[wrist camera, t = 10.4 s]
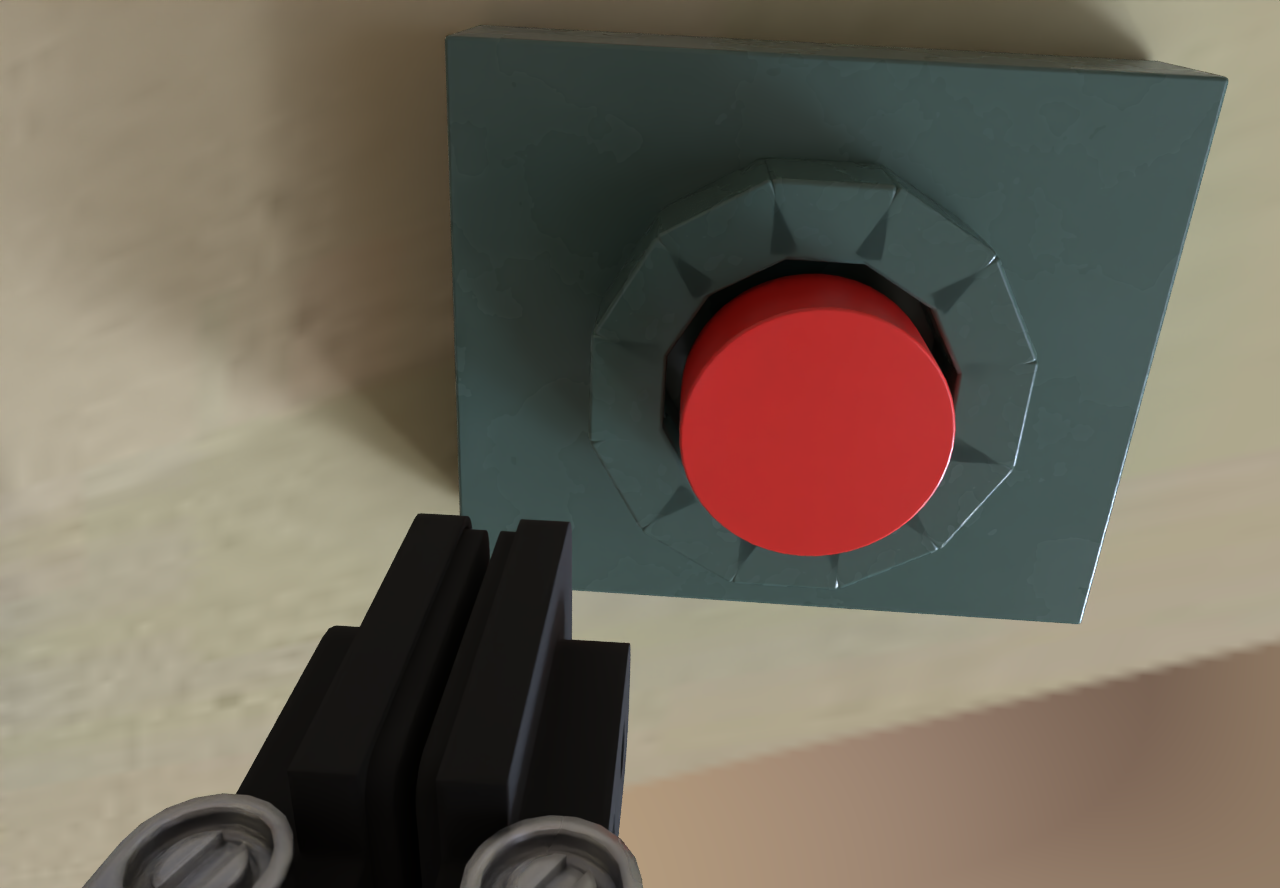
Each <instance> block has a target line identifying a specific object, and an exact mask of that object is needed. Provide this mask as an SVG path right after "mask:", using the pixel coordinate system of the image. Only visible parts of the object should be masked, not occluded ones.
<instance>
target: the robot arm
mask: <svg viewBox="0 0 1280 888" xmlns="http://www.w3.org/2000/svg"><path fill="white" fill-rule="evenodd" d="M629 687H630V643H617V642H601V641H584V640H572V528H571V523H570V522H566V521H548V520H530V519H521V520H520V522H519V524H518V527H517V530H516V532H513V531H500V534H499V536H498V539H497V542H496V544H495V547H494V550H493V553H492V556H491V559H490V548H489V536H488V532H487V530H477V529H472V523H471V519H470V518H469V516H458V515H440V514H422V513H421V514H418V515H417V516H416V517H415V519H414V521H413V523H412V525H411V527H410V529H409V531H408V533H407V535H406V537H405V539H404V541H403V543H402V545H401V547H400V549H399V550H398V552H397V554H396V556H395V558H394V560H393V562H392V564H391V566H390V568H389V570H388V572H387V574H386V576H385V578H384V580H383V582H382V584H381V586H380V588H379V590H378V592H377V594H376V596H375V598H374V600H373V602H372V604H371V606H370V608H369V610H368V612H367V614H366V616H365V618H364V620H363V622H362V624H361V626H360V627H351V626H333V627H331V628H329V629H328V631H327V632H326V633H325V635H324V636H323V637H322V639H321V641H320V643H319V645H318V647H317V648H316V650H315V652H314V654H313V656H312V657H311V659H310V661H309V663H308V665H307V666H306V668H305V670H304V672H303V674H302V675H301V677H300V679H299V681H298V683H297V685H296V686H295V688H294V690H293V692H292V694H291V695H290V697H289V699H288V701H287V703H286V704H285V706H284V708H283V710H282V712H281V714H280V715H279V717H278V719H277V721H276V723H275V724H274V726H273V728H272V730H271V732H270V733H269V735H268V737H267V739H266V741H265V742H264V744H263V746H262V748H261V750H260V752H259V753H258V755H257V757H256V759H255V761H254V762H253V764H252V766H251V768H250V770H249V771H248V773H247V775H246V777H245V779H244V780H243V782H242V784H241V786H240V788H239V790H238V791H237V793H236V794H223V793H222V794H216V795H210V796H204V797H197V798H193V799H190V800H188V801H185V802H182V803H179V804H177V805H174V806H171V807H169V808H166V809H164V810H163V811H161V812H159V813H158V814H156V815H154V816H153V817H151V818H149V819H148V820H146V821H144V822H143V823H141V824H140V825H139V826H138V827H137V828H136V829H135V830H134V831H132V832H131V833H130V834H129V835H128V836H127V837H126V838H125V839H124V840H123V841H122V842H121V843H120V844H119V845H118V846H117V847H116V848H115V849H114V851H113V852H112V853H111V854H110V855H109V857H108V858H107V859H106V860H105V861H104V862H103V864H102V865H101V866H100V867H99V868H98V869H97V871H96V872H95V873H94V874H93V875H92V877H91V878H90V879H89V880H88V881H87V882H86V884H85V885H84V886H83V887H82V888H643V885H642V878H641V875H640V871H639V868H638V865H637V862H636V859H635V857H634V855H633V854H632V853H631V851H630V850H629V849H628V847H627V846H626V845H625V844H624V842H623V841H622V840H621V839H620V838H619V837H618V835H619V825H620V815H621V804H622V795H623V784H624V774H625V761H626V748H627V732H628V714H629Z"/></svg>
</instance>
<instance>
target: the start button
mask: <svg viewBox="0 0 1280 888" xmlns="http://www.w3.org/2000/svg"><path fill="white" fill-rule="evenodd" d="M955 431H956V427H955V410H954V404H953V399H952V395H951V392H950V389H949V386H948V383H947V381H946V379H945V377H944V375H943V373H942V371H941V369H940V367H939V366H938V364H937V362H936V360H935V359H934V357H933V355H932V354H931V352H930V350H929V348H928V347H927V345H926V343H925V342H924V340H923V338H922V336H921V335H920V333H919V331H918V330H917V328H916V327H915V325H914V324H913V323H912V321H911V320H910V318H909V317H908V316H907V315H906V314H905V313H904V312H903V311H902V309H901V308H900V307H899V306H898V305H897V304H895V303H894V302H893V301H892V300H890V299H889V298H888V297H886V296H885V295H884V294H882V293H880V292H879V291H877V290H875V289H873V288H872V287H870V286H867V285H865V284H863V283H860V282H858V281H855V280H852V279H848V278H844V277H840V276H835V275H827V274H798V275H790V276H784V277H780V278H777V279H773V280H769V281H766V282H764V283H761V284H759V285H756V286H754V287H752V288H750V289H748V290H746V291H745V292H743V293H741V294H739V295H738V296H736V297H735V298H734V299H732V300H731V301H729V302H728V303H727V304H725V305H724V306H723V307H722V308H721V309H720V310H719V311H718V312H717V313H716V314H715V315H714V316H712V318H711V319H710V320H709V321H708V323H707V324H706V325H705V326H704V328H703V329H702V330H701V332H700V333H699V335H698V337H697V338H696V340H695V342H694V343H693V346H692V348H691V350H690V352H689V355H688V357H687V360H686V364H685V367H684V371H683V376H682V384H681V399H680V424H679V446H680V453H681V460H682V464H683V467H684V471H685V474H686V477H687V479H688V481H689V483H690V486H691V488H692V490H693V492H694V493H695V495H696V496H697V498H698V499H699V501H700V503H701V504H702V505H703V506H704V508H705V509H706V510H707V511H708V512H709V513H710V515H711V516H712V517H713V518H714V519H716V520H717V521H718V522H719V523H720V524H721V525H722V526H723V527H725V528H726V529H728V530H729V531H731V532H732V533H733V534H735V535H736V536H738V537H740V538H742V539H744V540H746V541H748V542H749V543H751V544H754V545H756V546H759V547H762V548H764V549H767V550H771V551H775V552H779V553H783V554H790V555H798V556H823V555H833V554H839V553H843V552H848V551H852V550H855V549H858V548H861V547H864V546H867V545H870V544H872V543H874V542H876V541H878V540H880V539H882V538H884V537H886V536H888V535H889V534H891V533H893V532H894V531H896V530H897V529H899V528H900V527H901V526H903V525H904V524H905V523H907V522H908V521H909V520H910V519H912V518H913V517H914V516H915V515H916V514H917V513H918V512H919V511H920V510H921V509H922V508H923V507H924V505H925V504H926V503H927V502H928V500H929V499H930V498H931V496H932V495H933V494H934V492H935V491H936V489H937V487H938V486H939V484H940V482H941V480H942V479H943V477H944V474H945V472H946V469H947V467H948V465H949V462H950V458H951V455H952V451H953V447H954V439H955Z"/></svg>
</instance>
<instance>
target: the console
mask: <svg viewBox="0 0 1280 888" xmlns="http://www.w3.org/2000/svg"><path fill="white" fill-rule="evenodd" d="M445 61H446V93H447V124H448V156H449V188H450V220H451V252H452V283H453V315H454V347H455V379H456V411H457V442H458V474H459V506H460V516H469V518H470V519H471V523H472V529H477V530H487V532H488V536H489V548H490V559H491V556H492V553H493V550H494V547H495V544H496V542H497V539H498V536H499V534H500V531H513V532H516V530H517V527H518V524H519V522H520V520H521V519H530V520H548V521H566V522H570V523H571V528H572V590H578V591H593V592H608V593H623V594H638V595H653V596H668V597H683V598H698V599H713V600H727V601H742V602H757V603H772V604H787V605H802V606H817V607H832V608H847V609H862V610H876V611H891V612H906V613H921V614H936V615H951V616H966V617H981V618H996V619H1011V620H1026V621H1040V622H1055V623H1070V624H1080V623H1081V621H1082V618H1083V614H1084V610H1085V607H1086V603H1087V599H1088V596H1089V592H1090V588H1091V585H1092V581H1093V577H1094V574H1095V570H1096V566H1097V563H1098V559H1099V555H1100V551H1101V548H1102V544H1103V540H1104V537H1105V533H1106V529H1107V526H1108V522H1109V518H1110V515H1111V511H1112V507H1113V504H1114V500H1115V496H1116V493H1117V489H1118V485H1119V482H1120V478H1121V474H1122V471H1123V467H1124V463H1125V460H1126V456H1127V452H1128V449H1129V445H1130V441H1131V438H1132V434H1133V430H1134V427H1135V423H1136V419H1137V416H1138V412H1139V408H1140V405H1141V401H1142V397H1143V394H1144V390H1145V386H1146V383H1147V379H1148V375H1149V372H1150V368H1151V364H1152V361H1153V357H1154V353H1155V349H1156V346H1157V342H1158V338H1159V335H1160V331H1161V327H1162V324H1163V320H1164V316H1165V313H1166V309H1167V305H1168V302H1169V298H1170V294H1171V291H1172V287H1173V283H1174V280H1175V276H1176V272H1177V269H1178V265H1179V261H1180V258H1181V254H1182V250H1183V247H1184V243H1185V239H1186V236H1187V232H1188V228H1189V225H1190V221H1191V217H1192V214H1193V210H1194V206H1195V203H1196V199H1197V195H1198V192H1199V188H1200V184H1201V181H1202V177H1203V173H1204V170H1205V166H1206V162H1207V158H1208V155H1209V151H1210V147H1211V144H1212V140H1213V136H1214V133H1215V129H1216V125H1217V122H1218V118H1219V114H1220V111H1221V107H1222V103H1223V100H1224V96H1225V92H1226V89H1227V85H1228V78H1226V77H1225V76H1221V75H1216V74H1212V73H1208V72H1203V71H1199V70H1195V69H1190V68H1186V67H1182V66H1177V65H1173V64H1169V63H1164V62H1160V61H1149V60H1130V59H1111V58H1092V57H1073V56H1055V55H1036V54H1017V53H998V52H979V51H960V50H941V49H923V48H904V47H885V46H866V45H847V44H828V43H809V42H791V41H772V40H753V39H734V38H715V37H696V36H677V35H659V34H640V33H621V32H602V31H583V30H564V29H545V28H527V27H508V26H489V25H479V26H476V27H473V28H470V29H467V30H464V31H461V32H458V33H455V34H452V35H449V36H446V39H445ZM798 274H827V275H835V276H840V277H844V278H848V279H852V280H855V281H858V282H860V283H863V284H865V285H867V286H870V287H872V288H873V289H875V290H877V291H879V292H880V293H882V294H884V295H885V296H886V297H888V298H889V299H890V300H892V301H893V302H894V303H895V304H897V305H898V306H899V307H900V308H901V309H902V311H903V312H904V313H905V314H906V315H907V316H908V317H909V318H910V320H911V321H912V323H913V324H914V325H915V327H916V328H917V330H918V331H919V333H920V335H921V336H922V338H923V340H924V342H925V343H926V345H927V347H928V348H929V350H930V352H931V354H932V355H933V357H934V359H935V360H936V362H937V364H938V366H939V367H940V369H941V371H942V373H943V375H944V377H945V379H946V381H947V383H948V386H949V389H950V392H951V395H952V399H953V404H954V410H955V427H956V431H955V439H954V447H953V451H952V455H951V458H950V462H949V465H948V467H947V469H946V472H945V474H944V477H943V479H942V480H941V482H940V484H939V486H938V487H937V489H936V491H935V492H934V494H933V495H932V496H931V498H930V499H929V500H928V502H927V503H926V504H925V505H924V507H923V508H922V509H921V510H920V511H919V512H918V513H917V514H916V515H915V516H914V517H913V518H912V519H910V520H909V521H908V522H907V523H905V524H904V525H903V526H901V527H900V528H899V529H897V530H896V531H894V532H893V533H891V534H889V535H888V536H886V537H884V538H882V539H880V540H878V541H876V542H874V543H872V544H870V545H867V546H864V547H861V548H858V549H855V550H852V551H848V552H843V553H839V554H833V555H823V556H798V555H790V554H783V553H779V552H775V551H771V550H767V549H764V548H762V547H759V546H756V545H754V544H751V543H749V542H748V541H746V540H744V539H742V538H740V537H738V536H736V535H735V534H733V533H732V532H731V531H729V530H728V529H726V528H725V527H723V526H722V525H721V524H720V523H719V522H718V521H717V520H716V519H714V518H713V517H712V516H711V515H710V513H709V512H708V511H707V510H706V509H705V508H704V506H703V505H702V504H701V503H700V501H699V499H698V498H697V496H696V495H695V493H694V492H693V490H692V488H691V486H690V483H689V481H688V479H687V477H686V474H685V471H684V467H683V464H682V460H681V453H680V446H679V424H680V399H681V384H682V376H683V371H684V367H685V364H686V360H687V357H688V355H689V352H690V350H691V348H692V346H693V343H694V342H695V340H696V338H697V337H698V335H699V333H700V332H701V330H702V329H703V328H704V326H705V325H706V324H707V323H708V321H709V320H710V319H711V318H712V316H714V315H715V314H716V313H717V312H718V311H719V310H720V309H721V308H722V307H723V306H724V305H725V304H727V303H728V302H729V301H731V300H732V299H734V298H735V297H736V296H738V295H739V294H741V293H743V292H745V291H746V290H748V289H750V288H752V287H754V286H756V285H759V284H761V283H764V282H766V281H769V280H773V279H777V278H780V277H784V276H790V275H798Z"/></svg>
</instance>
